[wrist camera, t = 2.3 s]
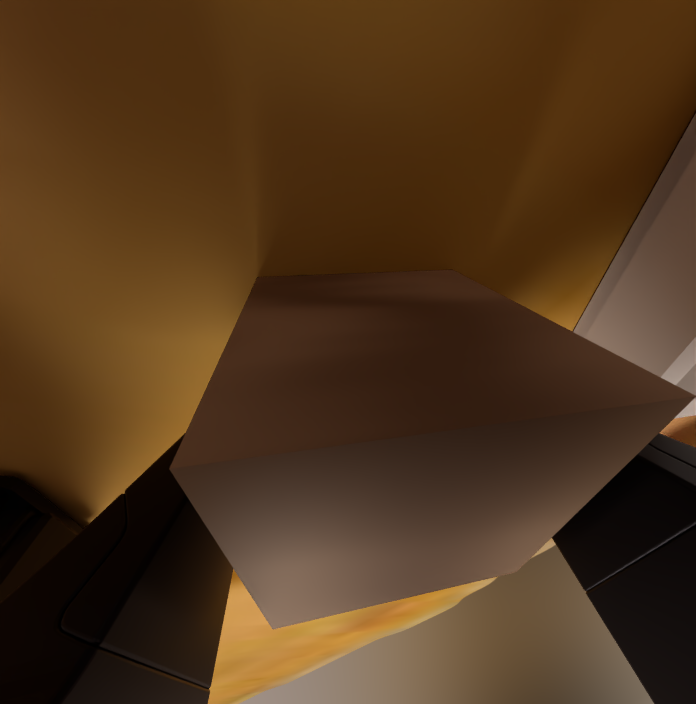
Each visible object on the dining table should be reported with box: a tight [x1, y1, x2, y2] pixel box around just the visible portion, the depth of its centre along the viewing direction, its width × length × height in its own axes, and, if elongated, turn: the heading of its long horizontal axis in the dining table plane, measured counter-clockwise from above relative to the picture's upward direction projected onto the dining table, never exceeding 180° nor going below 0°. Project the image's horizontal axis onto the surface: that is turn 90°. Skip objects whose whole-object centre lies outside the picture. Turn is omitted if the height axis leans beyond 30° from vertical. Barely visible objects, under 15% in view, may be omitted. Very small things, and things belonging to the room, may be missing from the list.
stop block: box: [169, 270, 696, 629], centre depth 7 cm, size 6×6×6 cm
